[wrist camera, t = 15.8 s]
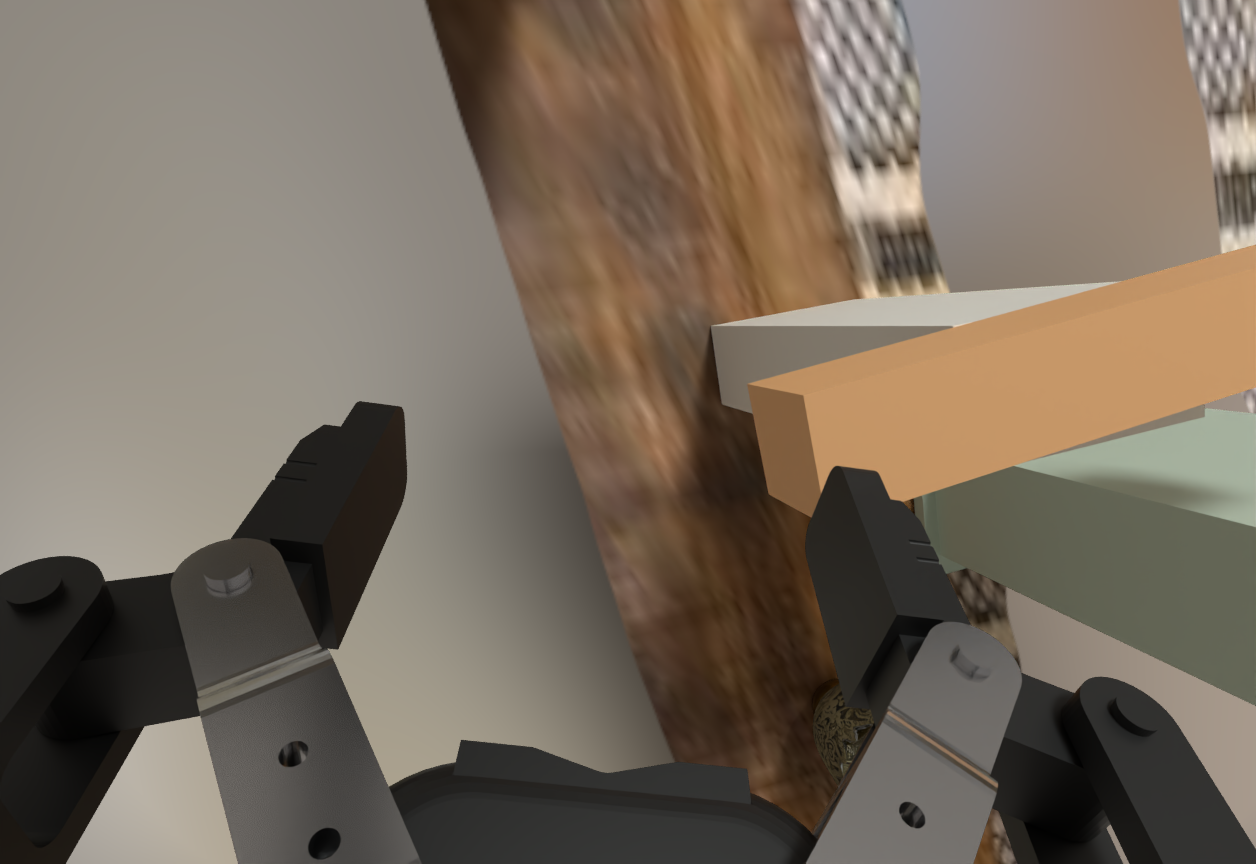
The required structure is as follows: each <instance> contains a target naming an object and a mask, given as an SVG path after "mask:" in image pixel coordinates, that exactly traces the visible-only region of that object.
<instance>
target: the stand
mask: <svg viewBox="0 0 1256 864" xmlns="http://www.w3.org/2000/svg"><path fill="white" fill-rule="evenodd" d="M914 507H915V516H916V517H917V518H918V519H919V520H920V521H921V523H922V525H923V527H924V529H925V531H926V533H927V535H928V537H929V539H930V542H931V544H930V546H932V547H933V548H934V550H935V552H936V554H937V556H938V558H939V564H942V567H943V569H944V571H945V573H946V574H948V573H951V572H955V571H958V570H962V569H966V568H968V569H970V570H972V571H975V572H977V573H979V574H981V575H983V576H985V577H987V578H989V579H991V580H993V581H995V582H998V583H1000V584H1002V585H1004V586H1006V587H1008V588H1010V589H1012V590H1014V591H1016V592H1018V593H1021V594H1023V595H1025V596H1027V597H1029V598H1031V599H1033V600H1035V601H1037V602H1039V603H1041V604H1044V605H1046V606H1048V607H1050V608H1052V609H1054V610H1056V611H1058V612H1060V613H1062V614H1064V615H1067V616H1069V617H1071V618H1073V619H1075V620H1077V621H1079V622H1081V623H1083V624H1086V625H1088V626H1090V627H1092V628H1094V629H1096V630H1098V631H1100V632H1102V633H1104V634H1106V635H1108V636H1111V637H1113V638H1115V639H1117V640H1119V641H1121V642H1123V643H1125V644H1127V645H1129V646H1132V647H1134V648H1136V649H1138V650H1140V651H1142V652H1144V653H1146V654H1148V655H1150V656H1153V657H1155V658H1157V659H1159V660H1161V661H1163V662H1165V663H1167V664H1169V665H1171V666H1173V667H1175V668H1178V669H1180V670H1182V671H1184V672H1186V673H1188V674H1190V675H1192V676H1194V677H1196V678H1198V679H1201V680H1203V681H1205V682H1207V683H1209V684H1211V685H1213V686H1215V687H1217V688H1219V689H1221V690H1223V691H1226V692H1228V693H1230V694H1232V695H1234V696H1236V697H1238V698H1240V699H1242V700H1244V701H1246V702H1249V703H1251V704H1253V705H1255V706H1256V414H1252V413H1243V412H1234V411H1225V410H1216V409H1206V408H1205V417H1203V418H1199V419H1195V420H1191V421H1187V422H1183V423H1179V424H1175V425H1171V426H1167V427H1163V428H1159V429H1155V430H1151V431H1147V432H1143V433H1139V434H1135V435H1131V436H1127V437H1123V438H1119V439H1115V440H1111V441H1107V442H1103V443H1099V444H1095V445H1091V446H1087V447H1083V448H1079V449H1075V450H1071V451H1067V452H1063V453H1059V454H1055V455H1051V456H1047V457H1043V458H1039V459H1035V460H1031V461H1027V462H1024V463H1021V464H1018V465H1014V466H1011V467H1008V468H1005V469H1002V470H999V471H996V472H993V473H990V474H987V475H984V476H981V477H977V478H974V479H971V480H968V481H965V482H962V483H959V484H956V485H953V486H950V487H947V488H943V489H940V490H937V491H934V492H931V493H928V494H925V495H922V496H919V497H916V498H914Z"/></svg>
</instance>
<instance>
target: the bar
mask: <svg viewBox="0 0 1256 864" xmlns="http://www.w3.org/2000/svg"><path fill="white" fill-rule="evenodd" d="M747 387H748V392H749V397H750V402H751V407H752V412H753V417H754V422H755V427H756V432H757V437H758V442H759V447H760V453H761V458H762V463H763V468H764V473H765V478H766V483H767V488H768V493H769V495H771V496H773V497H774V498H776V499H778V500H780V501H782V502H784V503H785V504H787V505H789V506H791V507H793V508H795V509H796V510H798V511H800V512H802V513H804V514H805V515H807V516H809V517H811V518H812V515H813V513H814V510H815V508H816V505H817V503H818V500H819V498H820V495H821V493H822V490H823V488H824V485H825V483H826V480H827V478H828V476H829V473H830V471H831V470H832V469H833V467H835V466H843V467H851V468H859V469H866V470H874V471H877V472H878V473H879V475H880V477H881V479H882V481H883V484H884V486H885V488H886V490H887V493H888V495H889V497H890V499H892V500H899V501H902V502H903V501H906V500H910V499H913V498H916V497H919V496H922V495H925V494H928V493H931V492H934V491H937V490H940V489H943V488H947V487H950V486H953V485H956V484H959V483H962V482H965V481H968V480H971V479H974V478H977V477H981V476H984V475H987V474H990V473H993V472H996V471H999V470H1002V469H1005V468H1008V467H1011V466H1014V465H1018V464H1021V463H1024V462H1027V461H1030V460H1033V459H1036V458H1039V457H1042V456H1045V455H1048V454H1052V453H1055V452H1058V451H1061V450H1064V449H1067V448H1070V447H1073V446H1076V445H1079V444H1082V443H1086V442H1089V441H1092V440H1095V439H1098V438H1101V437H1104V436H1107V435H1110V434H1113V433H1116V432H1119V431H1123V430H1126V429H1129V428H1132V427H1135V426H1138V425H1141V424H1144V423H1147V422H1150V421H1153V420H1157V419H1160V418H1163V417H1166V416H1169V415H1172V414H1175V413H1178V412H1181V411H1184V410H1187V409H1190V408H1194V407H1197V406H1200V405H1203V404H1206V403H1209V402H1212V401H1215V400H1218V399H1221V398H1224V397H1228V396H1231V395H1234V394H1237V393H1240V392H1243V391H1246V390H1249V389H1252V388H1255V387H1256V245H1253V246H1249V247H1246V248H1242V249H1238V250H1235V251H1231V252H1227V253H1224V254H1220V255H1216V256H1213V257H1209V258H1205V259H1202V260H1198V261H1195V262H1191V263H1187V264H1184V265H1180V266H1176V267H1173V268H1169V269H1166V270H1162V271H1158V272H1154V273H1151V274H1147V275H1144V276H1140V277H1136V278H1132V279H1129V280H1125V281H1121V282H1118V283H1114V284H1110V285H1107V286H1103V287H1099V288H1096V289H1092V290H1088V291H1085V292H1081V293H1078V294H1074V295H1070V296H1067V297H1063V298H1059V299H1056V300H1052V301H1048V302H1045V303H1041V304H1037V305H1034V306H1030V307H1026V308H1023V309H1019V310H1015V311H1012V312H1008V313H1004V314H1001V315H997V316H993V317H990V318H986V319H982V320H979V321H975V322H972V323H968V324H964V325H961V326H957V327H953V328H950V329H946V330H942V331H939V332H935V333H931V334H928V335H924V336H920V337H917V338H913V339H909V340H906V341H902V342H898V343H895V344H891V345H887V346H884V347H880V348H876V349H873V350H869V351H866V352H862V353H858V354H855V355H851V356H847V357H844V358H840V359H836V360H833V361H829V362H825V363H822V364H818V365H814V366H811V367H807V368H803V369H800V370H796V371H792V372H789V373H785V374H781V375H778V376H774V377H770V378H767V379H763V380H760V381H756V382H752V383H749V384H747Z"/></svg>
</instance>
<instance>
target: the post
mask: <svg viewBox="0 0 1256 864" xmlns="http://www.w3.org/2000/svg"><path fill="white" fill-rule="evenodd" d="M1114 283H1118V282H1107V283H1092V284H1077V285H1063V286H1048V287H1033V288H1019V289H1003V290H989V291H974V292H959V293H944V294H930V295H915V296H900V297H885V298H870V299H856V300H849V301H844V302H838V303H833V304H828V305H822V306H817V307H811V308H806V309H800V310H795V311H790V312H784V313H779V314H773V315H768V316H762V317H757V318H752V319H746V320H741V321H735V322H730V323H724V324H719V325H714V326H711V332H712V339H713V346H714V353H715V360H716V367H717V374H718V381H719V388H720V395H721V402H722V405H725V406H729V407H732V408H735V409H739V410H742V411H745V412H749V413H752V414H753V412H752V407H751V402H750V397H749V392H748V387H747V384H749V383H752V382H756V381H760V380H763V379H767V378H770V377H774V376H778V375H781V374H785V373H789V372H792V371H796V370H800V369H803V368H807V367H811V366H814V365H818V364H822V363H825V362H829V361H833V360H836V359H840V358H844V357H847V356H851V355H855V354H858V353H862V352H866V351H869V350H873V349H876V348H880V347H884V346H887V345H891V344H895V343H898V342H902V341H906V340H909V339H913V338H917V337H920V336H924V335H928V334H931V333H935V332H939V331H942V330H946V329H950V328H953V327H957V326H961V325H964V324H968V323H972V322H975V321H979V320H982V319H986V318H990V317H993V316H997V315H1001V314H1004V313H1008V312H1012V311H1015V310H1019V309H1023V308H1026V307H1030V306H1034V305H1037V304H1041V303H1045V302H1048V301H1052V300H1056V299H1059V298H1063V297H1067V296H1070V295H1074V294H1078V293H1081V292H1085V291H1088V290H1092V289H1096V288H1099V287H1103V286H1107V285H1110V284H1114ZM1203 417H1205V405H1204V404H1203V405H1200V406H1197V407H1194V408H1190V409H1187V410H1184V411H1181V412H1178V413H1175V414H1172V415H1169V416H1166V417H1163V418H1160V419H1157V420H1153V421H1150V422H1147V423H1144V424H1141V425H1138V426H1135V427H1132V428H1129V429H1126V430H1123V431H1119V432H1116V433H1113V434H1110V435H1107V436H1104V437H1101V438H1098V439H1095V440H1092V441H1089V442H1086V443H1082V444H1079V445H1076V446H1073V447H1070V448H1067V449H1064V450H1061V451H1058V452H1055V453H1052V454H1048V455H1045V456H1042V457H1039V458H1043V457H1047V456H1051V455H1055V454H1059V453H1063V452H1067V451H1071V450H1075V449H1079V448H1083V447H1087V446H1091V445H1095V444H1099V443H1103V442H1107V441H1111V440H1115V439H1119V438H1123V437H1127V436H1131V435H1135V434H1139V433H1143V432H1147V431H1151V430H1155V429H1159V428H1163V427H1167V426H1171V425H1175V424H1179V423H1183V422H1187V421H1191V420H1195V419H1199V418H1203ZM1039 458H1036V459H1039ZM1033 460H1035V459H1033ZM1030 461H1031V460H1030Z"/></svg>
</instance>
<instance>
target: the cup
mask: <svg viewBox="0 0 1256 864" xmlns="http://www.w3.org/2000/svg"><path fill="white" fill-rule="evenodd" d="M812 710H813V714H814V718H813V735H814V740H815V744H816V747H817V749H818V752H819V754H820V756H821V758H822V760H823V762H824V763H825V765H826V767H827V769H828V770H829V772H830V774H831V775H832V777H833V779H834V780H835V782H836V783H837V785H839V783H840V782H841V780H842V778H843V776H844V774H845V773H846V771H847V769H848V767H849V765H850V764H851V762H852V760H853V758H854V756H855V754H856V753H857V751H858V749H859V747H860V745H861V744H862V742H863V740H864V738H865V736H866V735H867V733H868V731H869V729H870V728H871V726H872V725H873V723H874V720H873V717H872V713H871V710H870V709H861V708H852V707H846V706H845V702H844V699H843V695H842V691H841V687H840V683H839V680H838V679H833V680H829V681H827V682H825V683H824V684H822V685H821V686H820V687H819V688H818V689H817V691H816V692H815V694H814V697H813V701H812Z"/></svg>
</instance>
